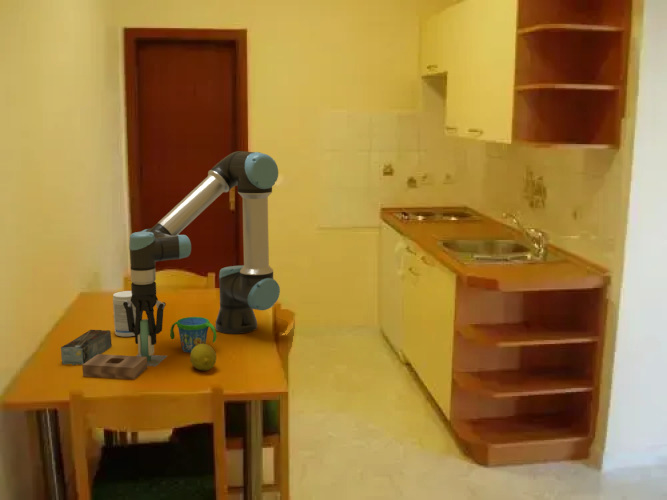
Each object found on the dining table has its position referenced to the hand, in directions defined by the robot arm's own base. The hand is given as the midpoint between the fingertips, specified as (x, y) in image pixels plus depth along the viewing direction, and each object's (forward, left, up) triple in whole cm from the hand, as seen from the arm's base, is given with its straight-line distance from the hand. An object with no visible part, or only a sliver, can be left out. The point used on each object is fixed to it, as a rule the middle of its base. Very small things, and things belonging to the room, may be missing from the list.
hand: (146, 353), depth 236 cm
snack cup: (-11, -13, -3) cm, 17 cm away
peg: (0, 0, -2) cm, 2 cm away
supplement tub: (+18, -27, -3) cm, 33 cm away
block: (+5, +12, -3) cm, 13 cm away
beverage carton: (+21, -2, -3) cm, 21 cm away
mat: (0, 0, -3) cm, 3 cm away
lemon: (-20, +4, -3) cm, 21 cm away
